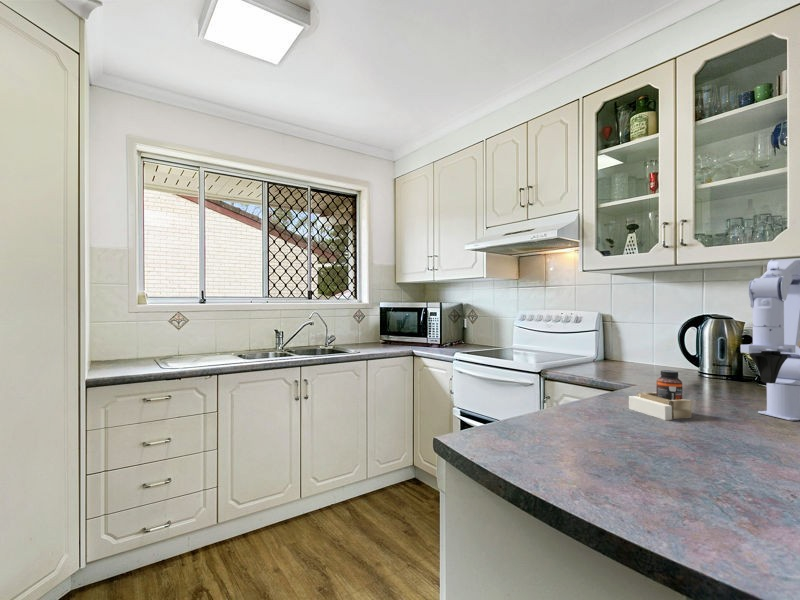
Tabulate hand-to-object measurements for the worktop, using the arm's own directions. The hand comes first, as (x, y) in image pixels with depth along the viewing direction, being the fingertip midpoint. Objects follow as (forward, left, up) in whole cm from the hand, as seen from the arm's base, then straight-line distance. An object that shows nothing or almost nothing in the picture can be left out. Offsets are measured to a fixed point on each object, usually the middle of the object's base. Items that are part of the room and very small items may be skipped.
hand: (768, 382), depth 99 cm
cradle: (+15, -15, -10) cm, 24 cm away
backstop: (+20, -15, -10) cm, 27 cm away
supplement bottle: (+13, -15, -11) cm, 23 cm away
